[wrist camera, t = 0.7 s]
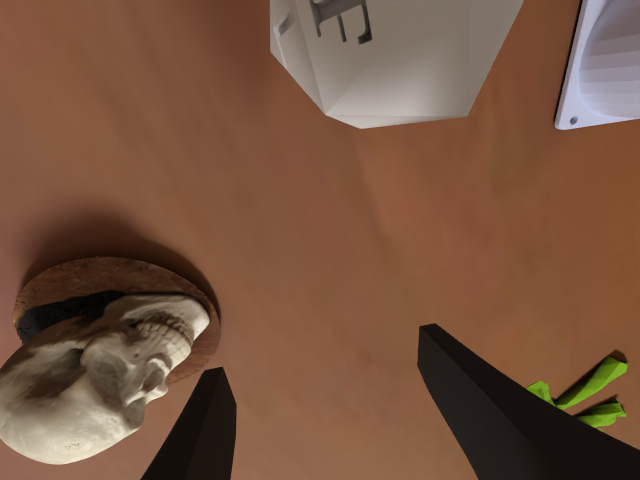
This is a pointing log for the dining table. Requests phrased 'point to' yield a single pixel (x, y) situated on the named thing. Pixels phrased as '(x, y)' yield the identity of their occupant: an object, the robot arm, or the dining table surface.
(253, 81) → the dining table surface
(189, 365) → the skull
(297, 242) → the dining table surface
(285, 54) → the die
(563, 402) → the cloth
